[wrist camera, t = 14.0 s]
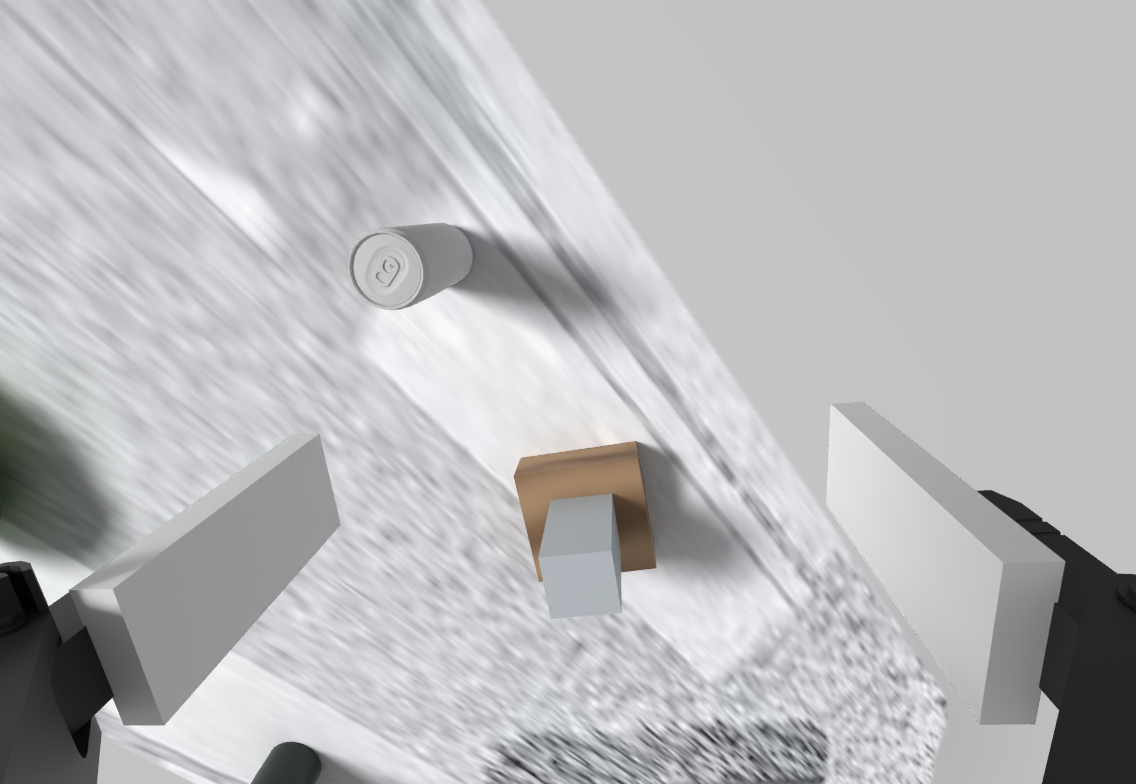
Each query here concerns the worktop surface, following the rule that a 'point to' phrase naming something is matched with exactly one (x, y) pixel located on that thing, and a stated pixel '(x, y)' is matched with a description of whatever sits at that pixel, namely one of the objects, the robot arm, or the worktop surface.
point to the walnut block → (589, 477)
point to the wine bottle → (289, 766)
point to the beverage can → (408, 263)
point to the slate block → (581, 557)
